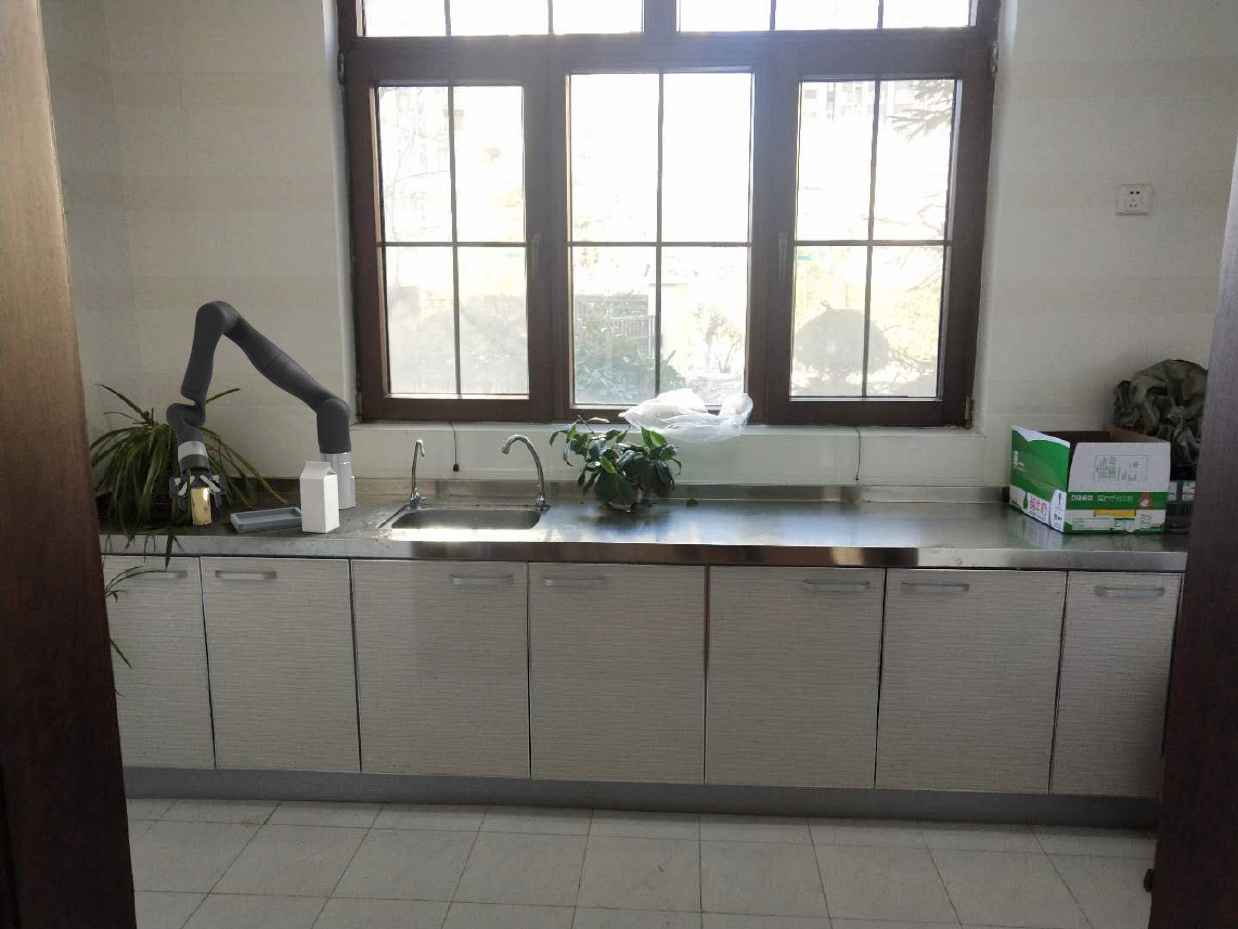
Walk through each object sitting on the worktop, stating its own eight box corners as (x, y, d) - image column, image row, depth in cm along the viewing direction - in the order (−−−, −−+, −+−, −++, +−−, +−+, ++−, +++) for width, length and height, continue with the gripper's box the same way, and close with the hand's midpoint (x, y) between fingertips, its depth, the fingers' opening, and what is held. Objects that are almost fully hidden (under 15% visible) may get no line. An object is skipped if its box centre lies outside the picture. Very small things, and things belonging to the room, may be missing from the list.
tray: (297, 515, 249) (296, 506, 249) (308, 525, 237) (308, 516, 237) (230, 522, 239) (230, 513, 239) (239, 533, 228) (238, 524, 227)
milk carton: (325, 533, 229) (322, 464, 226) (302, 531, 231) (298, 463, 227) (339, 527, 236) (336, 460, 233) (316, 525, 238) (313, 459, 234)
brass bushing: (210, 520, 241) (207, 485, 240) (212, 523, 238) (209, 488, 236) (192, 522, 239) (189, 487, 237) (194, 525, 235) (191, 490, 233)
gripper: (165, 454, 237) (173, 502, 230) (221, 451, 245) (230, 497, 237) (165, 470, 243) (172, 517, 235) (219, 466, 250) (228, 512, 243)
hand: (201, 507), depth 236 cm, fingers open, 8 cm apart
